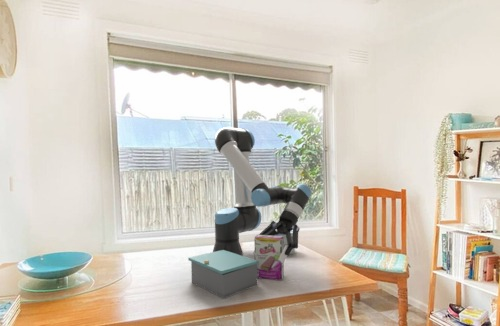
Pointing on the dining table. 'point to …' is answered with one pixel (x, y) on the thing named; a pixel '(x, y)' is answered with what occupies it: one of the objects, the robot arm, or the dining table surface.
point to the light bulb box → (286, 240)
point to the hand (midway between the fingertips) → (267, 258)
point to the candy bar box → (269, 256)
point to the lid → (222, 261)
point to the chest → (224, 279)
